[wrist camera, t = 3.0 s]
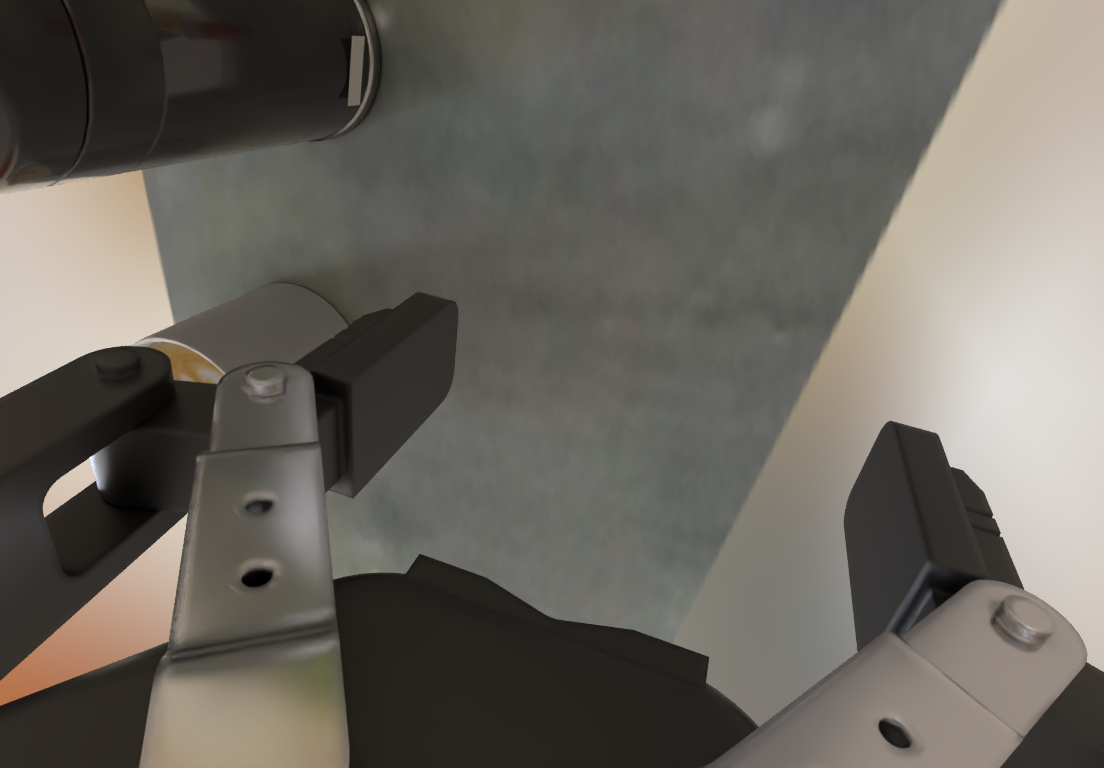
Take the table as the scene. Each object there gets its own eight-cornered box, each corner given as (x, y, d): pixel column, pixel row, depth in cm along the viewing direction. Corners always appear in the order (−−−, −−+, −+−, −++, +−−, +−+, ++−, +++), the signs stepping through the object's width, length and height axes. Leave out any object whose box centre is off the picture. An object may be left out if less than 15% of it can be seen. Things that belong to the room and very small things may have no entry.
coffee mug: (234, 266, 45) (102, 316, 36) (362, 303, 43) (254, 365, 34) (249, 430, 51) (141, 504, 43) (362, 468, 49) (271, 555, 41)
